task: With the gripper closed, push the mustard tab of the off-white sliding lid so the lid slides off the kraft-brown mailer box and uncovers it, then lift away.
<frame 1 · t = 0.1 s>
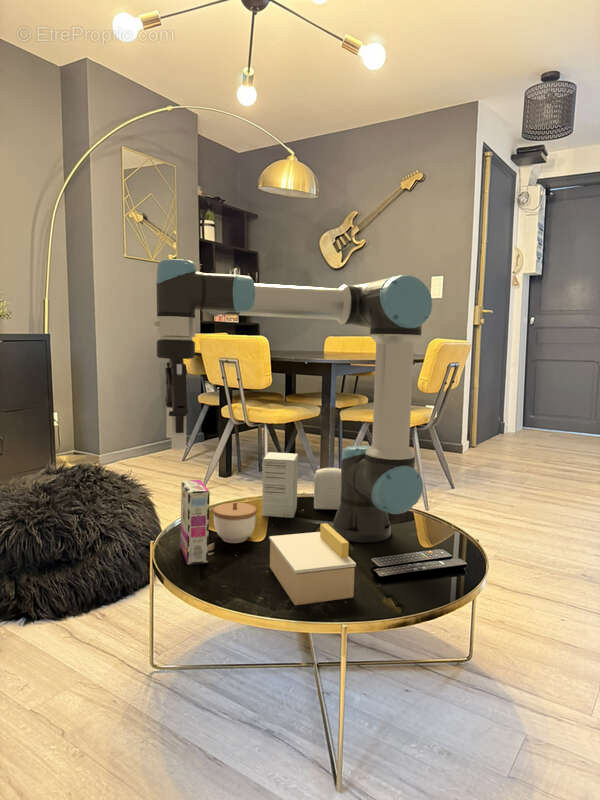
hand: (175, 443, 109), 28 cm above the table, fingers open, 13 cm apart
supplement box: (279, 512, 156), on the table
photo printer: (330, 509, 161), on the table
mailer box: (309, 581, 110), on the table
candy bar box: (194, 555, 123), on the table
lidded jar: (234, 539, 134), on the table
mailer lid: (310, 543, 110), point 8 cm above the table, slide at 0.0 cm
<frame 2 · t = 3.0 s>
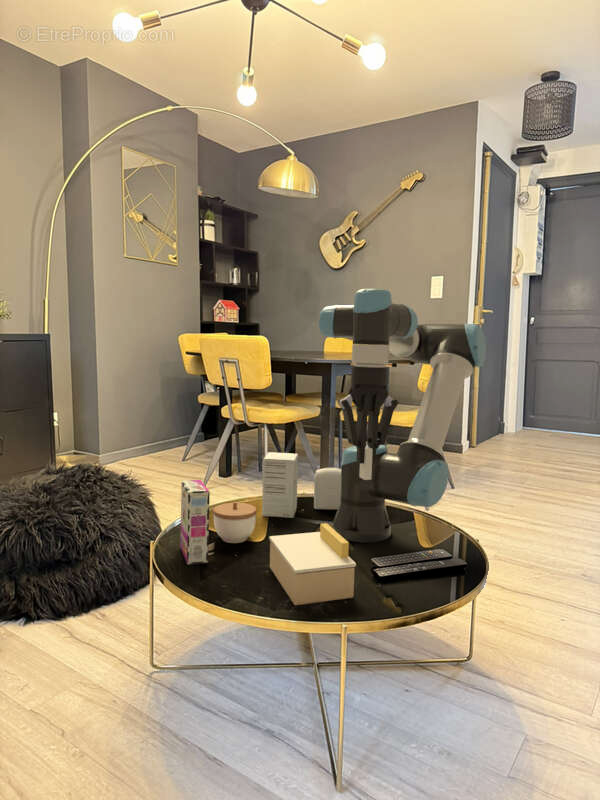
hand: (365, 478, 112), 21 cm above the table, fingers closed
nothing on the table moved.
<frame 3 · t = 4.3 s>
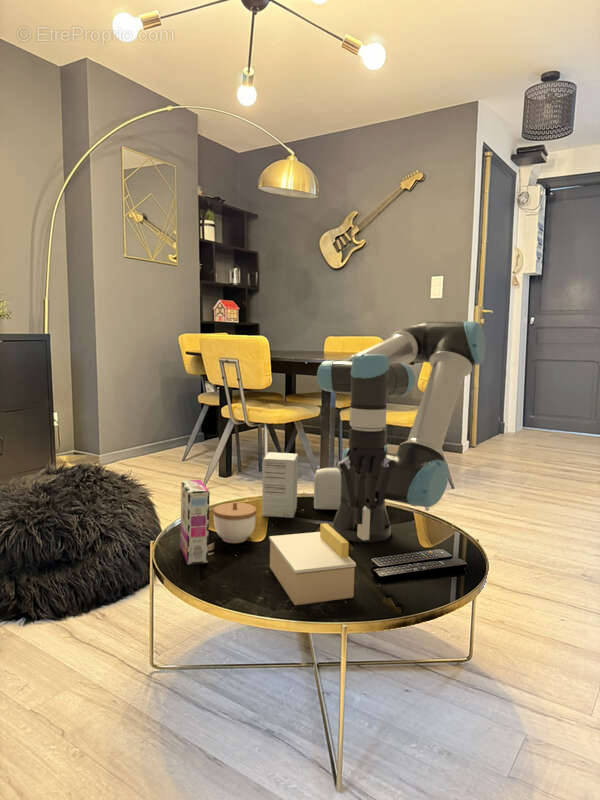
hand: (363, 537, 113), 8 cm above the table, fingers closed
nothing on the table moved.
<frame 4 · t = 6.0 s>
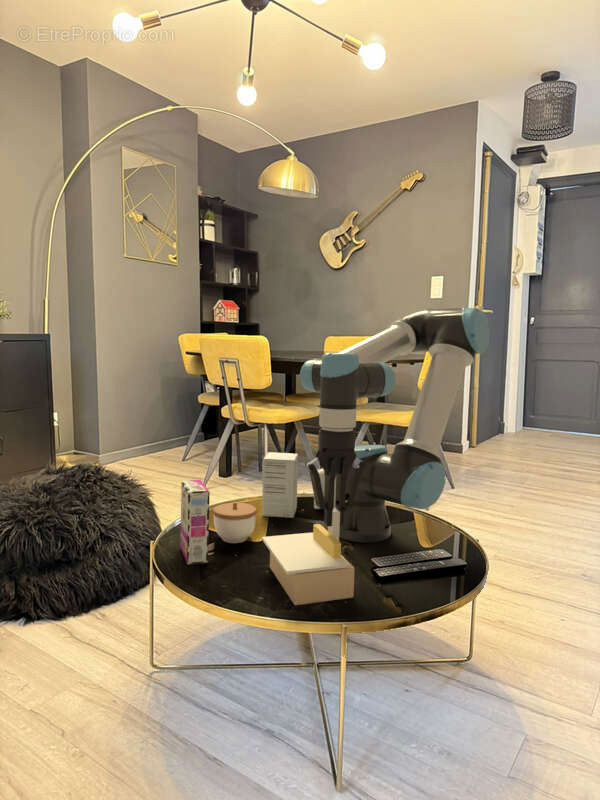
hand: (333, 540, 111), 8 cm above the table, fingers closed
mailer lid: (302, 544, 109), point 8 cm above the table, slide at 1.6 cm, touching gripper
everything else where it was.
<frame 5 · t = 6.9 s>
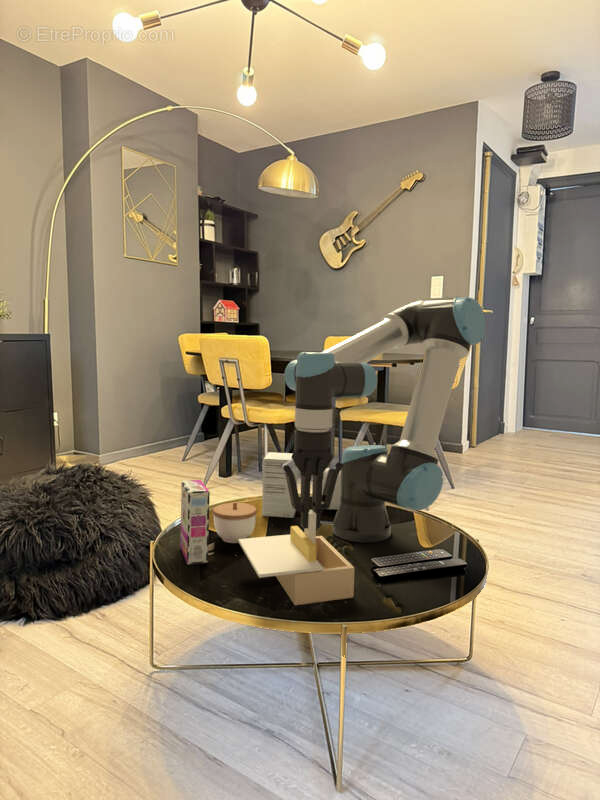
hand: (309, 542, 109), 8 cm above the table, fingers closed
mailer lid: (278, 546, 107), point 8 cm above the table, slide at 6.8 cm, touching gripper
everything else where it was.
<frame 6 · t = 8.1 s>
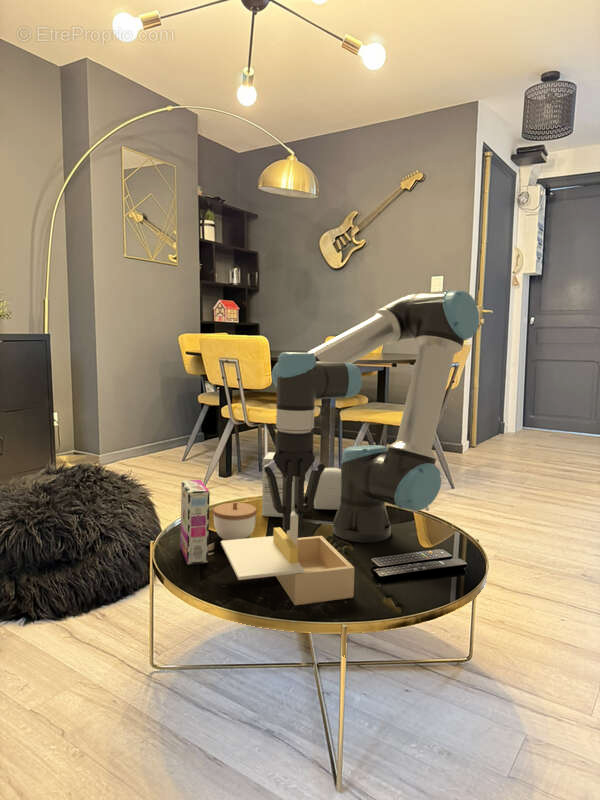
hand: (291, 544, 108), 8 cm above the table, fingers closed
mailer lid: (259, 548, 106), point 8 cm above the table, slide at 10.6 cm, touching gripper
everything else where it was.
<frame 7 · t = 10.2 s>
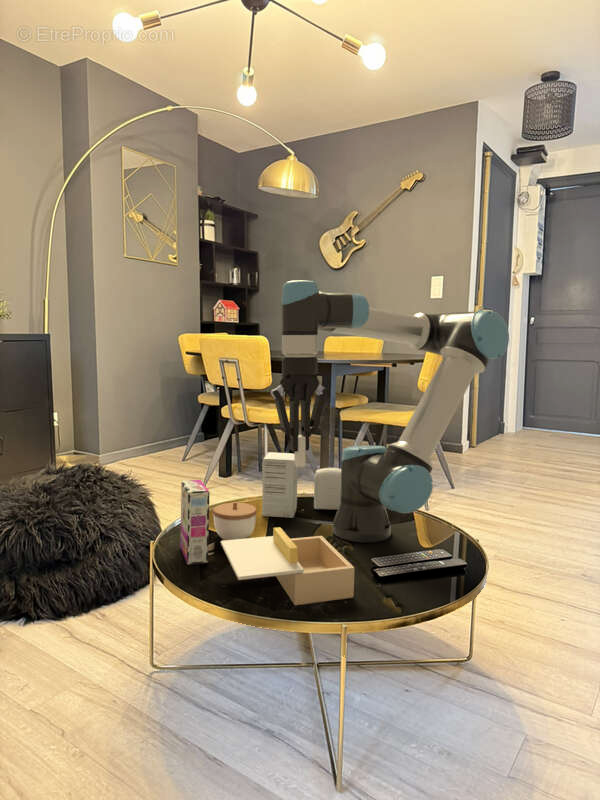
hand: (299, 465, 115), 23 cm above the table, fingers closed
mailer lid: (259, 548, 106), point 8 cm above the table, slide at 10.6 cm
everything else where it was.
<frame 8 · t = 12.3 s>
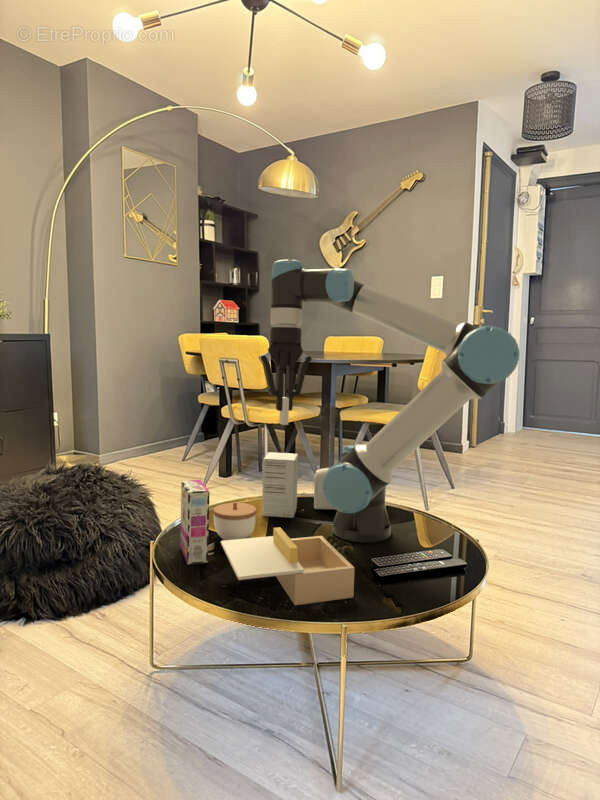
hand: (283, 423, 130), 29 cm above the table, fingers closed
nothing on the table moved.
at the end: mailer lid slide at 10.6 cm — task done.
